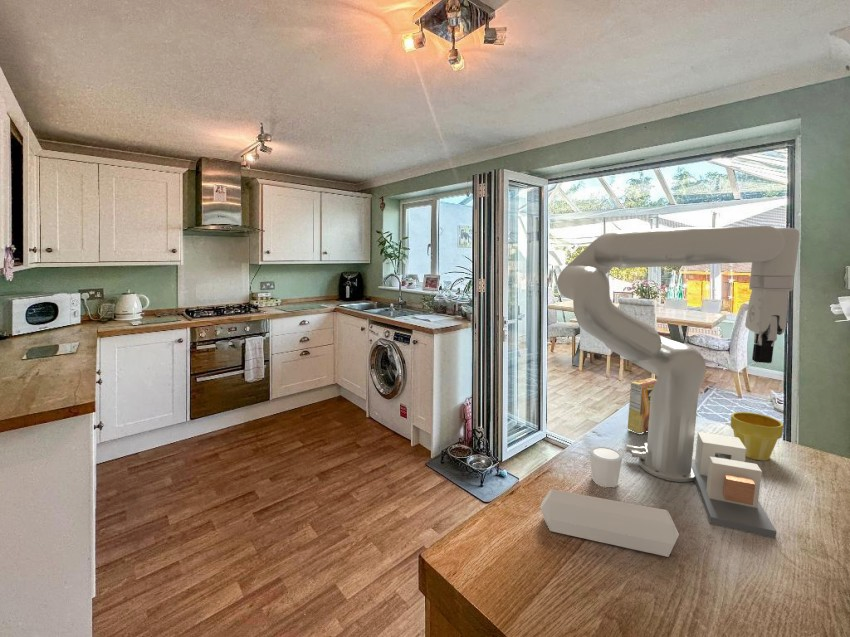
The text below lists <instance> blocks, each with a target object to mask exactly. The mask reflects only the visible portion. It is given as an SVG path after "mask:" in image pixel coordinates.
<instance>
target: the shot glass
mask: <svg viewBox="0 0 850 637" xmlns="http://www.w3.org/2000/svg"><path fill="white" fill-rule="evenodd" d="M589 453H590V454H589V456H590V457H589V459H590V472H591V473H590V476H591V477H592V478H591V480H592V479H593V481H594V482H595V483H597V484H599V485H602V486H606V487H613V488H615V486H616V487H617V486H618V483H619V480H620V479H619V478H620V472H621V469H622V468H621V467H622V461H623V454H622V453H621V452H620V451H618V450H617V449H614V448H611V447H607V446H595V447H592V448H591V449H590V450H589ZM593 481H592V482H593ZM594 482H593V483H594ZM595 483H594V484H595ZM597 484H596V485H597ZM599 485H598V486H599ZM602 486H601V487H602ZM606 487H605V488H606Z"/></svg>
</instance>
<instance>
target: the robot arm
mask: <svg viewBox="0 0 850 637" xmlns="http://www.w3.org/2000/svg"><path fill="white" fill-rule="evenodd" d="M800 236H801V235H800V231H799V230H798V229H797V228H794V227H774V226H771V225H752V226H751V225H749V226H726V227H724V226H723V227H674V228H673V227H672V228H671V227H670V228H651V229H650V228H647V229H624V230H617V231H610V232H605V233H603V234H601V235H599V236H598V237H597V238H596V239H594V240H593V241H592V242H591V243H590V244H589V245H587V247H585V249H584V250H582V251H581V252H580V253H579V254H578V255H576V257H575V258H573V260H571V262H569V263H568V264H567V265H566V266H565V267H564V268H562V270H561V272H560V273H559V275H558V278H557V281H556V282H557V283H556V284H557V289H558V291H559V293H560V295H562V296H563V297H565V298H567V299H569V300H572V301H573V302H572V305H573V306H572V307H573V312H574V316H575V319H576V321H577V323H578V325H579V326H580V327H581V328H582V329H583V330H584V331H585V332H587V333H588V334H589V335H591V336H592V337H594V338H596V339H597V340H599V341H600V342H602V343H603V344H604V345H605V346H606V348H607V349H609V350H610V351H612V352H613V353H615V354H617V355H618V356H621V357H622V358H624V359H625V360H627V361H629V362H631V363H633V364H635V365H637V366H638V367H640V368H642V369H643V370H645V371H647V372H649V373H652V374H653V375H654V376H656V377H657V378H656V380H657V381H656V383H655V385H654V387H653V390H652V393H651V398H650V413H649V427H648V433H647V440H646V441H647V442H644V445H640V446H635V445H632V444H626V446H625V452H626V453H630V454H631V457H634V458H638V464H639V466H640V467H641V468H642V469H643V470H644V471H645V472H647V473H649V475H652V476H655V477H657V478H659V479H662V480H666V481H671V482H677V483H688V482H689V483H690V482H693V481H694V480H695V475H694V472H693V469H692V467H691V466H692V459H693V457H694V456H693V455H694V444H695V443H694V442H695V434H696V432H695V431H696V422H697V411H698V410H697V409H698V401H699V396H700V390H701V388H702V387H701V386H702V384H703V382H704V381H703V380H704V378H705V375H706V369H707V365H706V360H705V358H704V357H703V355H702V353H700V352H699V350H697V349H695V348H694V347H693V346H690V345H688V344H685V343H682V342H679V341H677V340H673V339H669V338H667V337H665V336H662V335H660V334H659V332H658V331H657V330H656V329H655V328H654V327H653V326H651V325H650V324H649V323H647V322H646V321H645V322H644V321H642V320H640V319H638V318H637V317H634V316H633V315H631V314H629V313H628V312H625V311H624V310H622V309H621V308H619V307H617V306H616V305H615V304H614V303H613V302H612V299H611V294H610V290H611V289H610V282H609V278H608V276H607V274H608V273H609V272H610V271H611V270H612V269H613V268H621V269H624V268H625V269H627V268H628V269H632V268H633V269H634V268H654V267H655V268H656V267H657V268H659V267H660V268H661V267H664V268H665V267H691V266H702V265H715V264H719V265H720V264H743V263H744V264H746V263H747V264H748V263H751V269H750V277H749V288H748V289H749V290H750V291H751V292H750V295H749V300H748V305H747V311H746V312H747V313H746V318H745V324H744V325H745V328H747V330H749V331H750V332H751V331H752V332H753V333H754V339H753V343H754V344H753V351H752V356H751V357H752V358H751V360H752V361H754V362H755V363H764V364H765V363H766V364H771V363H772V362H773V355H774V347H775V342H777V340H778V339H777V338H778V336H780V335H783V334H784V333H785V329H786V326H787V320H788V319H787V318H788V316H787V315H788V305H789V304H788V303H789V292H792V291H793V290H794V282H795V275H796V267H797V260H798V259H797V258H798V252H799V245H800ZM694 482H695V481H694Z"/></svg>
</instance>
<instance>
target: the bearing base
mask: <svg viewBox="0 0 850 637" xmlns="http://www.w3.org/2000/svg"><path fill="white" fill-rule="evenodd" d="M696 435H697V436H696V448H695V458H694V459H693V458H692V466H691V467H692V469H693V472H694V475H695V480H694V484H695V486H696V489H697V492H698V495H699V498H700V500H701V502H702V505H703V508H704V510H705V513H706V517H707V520H708V522H709V524H710V525H714V526H717V527H718V526H719V527H723V528H728V529H731V530H736V531H740V532H745V533H749V534H753V535H759V536H763V537H768V538H772V539H775V540H776V538H777V530H776V527H775V526H774V525H773V523H772V521H771V519H770V518H769V516H768V515H767V513H766V511H765V509H764V507H763V506H762V505H761V503H760V501H759V496H760V488H761V481H762V472H763V471H762V470H761V468H760V467H759V465H758V463H752V462H746V458H747V457H746V448H745V446H744V445H743V443H742V442H741V440H740V439H739V438H737V437H734V436H731V435H730V436H729V435H722V434H715V433H709V432H702V431H697V434H696ZM715 453H721V454H726V455H727V457H728V458H729V459H723V458H717V457H715ZM725 474H727V475H732V476H738V477H743V478H749V479H752V480H753V481H754V483H755V491H754V499H753V505H749V504H744V503H739V502H734V501H730V500H725V498H724V496H723V485H724V476H725Z"/></svg>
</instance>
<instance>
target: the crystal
mask: <svg viewBox="0 0 850 637" xmlns="http://www.w3.org/2000/svg"><path fill="white" fill-rule="evenodd" d="M539 507H540V512H541V514H542V518H543V519H544V522H545V524H546V526H548V527H547V529H548V528H549V529H548V530H549V531H550V532H553V533H558V534H563V535H567V536H572V537H577V538H581V539H586V540H590V541H594V542H599V543H602V544H603V543H604V544H607V545H611V546H612V545H613V546H618V547H622V548H626V549H631V550H635V551H640V552H644V553H650V554H653V555H658V556H663V557H667V558H668V557H669V556H671V555H670V554H671V553H672V551H673V550H674V549H673V548H674V547H675V544H676V543H677V540H678V537H679V535H680V534H679V531H678V529H677V527H676V524H675V522H674V521H673V518H672V516H671V515H670V512H669V511H668V510H667V509H662V508H658V507H657V508H656V507H650V506H645V505H641V504H640V505H639V504H635V503H631V502H630V503H629V502H624V501H618V500H614V499H613V500H612V499H607V498H602V497H598V496H589V495H585V494H580V493H575V492H569V491H563V490H557V489H550V490H549V491H548V492H547V494H546V496H545V497H544V498H543V500H542V502H541V504H540V506H539Z"/></svg>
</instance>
